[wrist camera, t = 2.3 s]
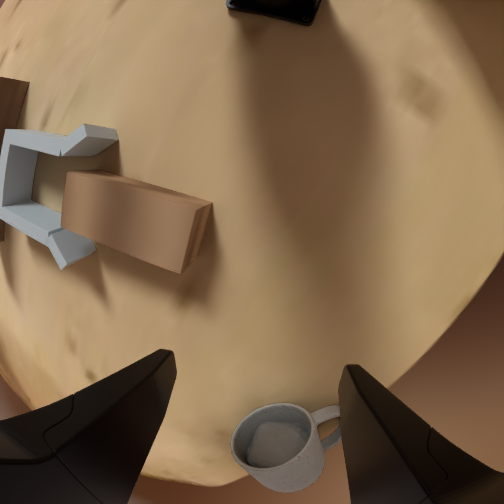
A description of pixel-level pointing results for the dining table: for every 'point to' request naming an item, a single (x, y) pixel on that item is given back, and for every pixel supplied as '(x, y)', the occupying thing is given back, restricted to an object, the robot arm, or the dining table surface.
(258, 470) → the ceramic mug
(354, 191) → the dining table surface
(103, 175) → the rectangular wooden block
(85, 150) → the cradle
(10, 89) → the backstop
